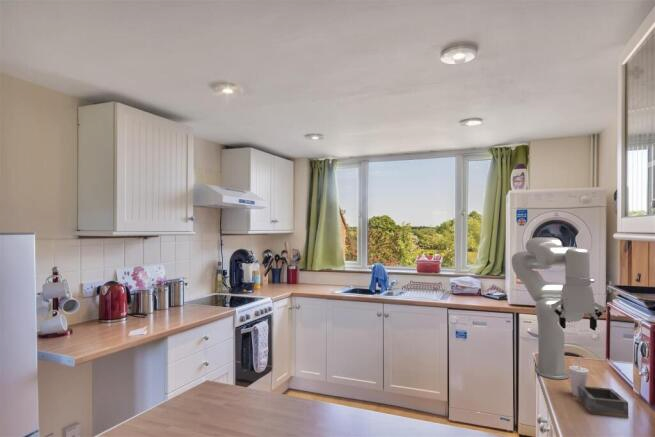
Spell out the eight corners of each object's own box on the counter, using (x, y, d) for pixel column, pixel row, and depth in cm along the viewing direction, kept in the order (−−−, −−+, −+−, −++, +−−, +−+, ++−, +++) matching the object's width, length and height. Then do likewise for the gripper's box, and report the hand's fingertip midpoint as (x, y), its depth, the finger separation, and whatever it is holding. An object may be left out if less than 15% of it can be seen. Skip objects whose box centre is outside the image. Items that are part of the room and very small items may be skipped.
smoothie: (592, 399, 136) (592, 360, 136) (572, 398, 137) (572, 359, 137) (584, 392, 142) (583, 354, 142) (565, 390, 143) (565, 353, 143)
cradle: (578, 399, 136) (578, 385, 136) (612, 403, 133) (612, 388, 133) (591, 414, 125) (591, 398, 125) (628, 418, 123) (628, 402, 123)
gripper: (599, 281, 141) (600, 327, 141) (548, 279, 146) (548, 324, 145) (609, 284, 134) (609, 333, 134) (554, 282, 138) (555, 329, 138)
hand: (577, 328), depth 140 cm, fingers open, 9 cm apart
